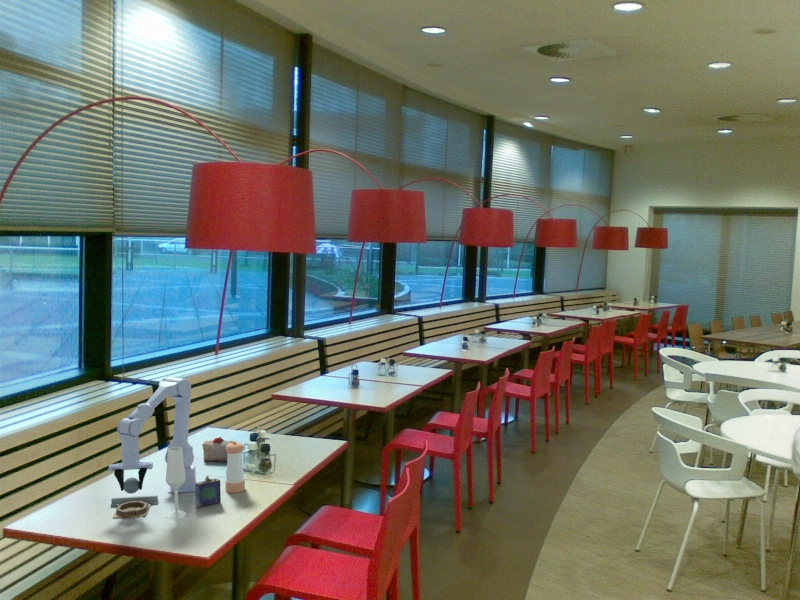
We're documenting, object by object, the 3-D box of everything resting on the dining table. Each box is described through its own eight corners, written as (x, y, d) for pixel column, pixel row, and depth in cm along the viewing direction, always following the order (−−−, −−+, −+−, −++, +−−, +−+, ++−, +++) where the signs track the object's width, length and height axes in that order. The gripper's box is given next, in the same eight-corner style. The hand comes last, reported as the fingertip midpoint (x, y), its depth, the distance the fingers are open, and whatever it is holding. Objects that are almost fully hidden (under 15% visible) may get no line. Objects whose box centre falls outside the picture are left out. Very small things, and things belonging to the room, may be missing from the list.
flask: (196, 508, 256) (195, 479, 255) (194, 506, 259) (193, 477, 258) (221, 503, 261) (221, 475, 260) (219, 501, 263) (218, 473, 262)
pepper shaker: (248, 489, 275) (247, 441, 273) (232, 494, 270) (231, 445, 268) (237, 484, 280) (237, 437, 278) (221, 489, 275) (220, 441, 273)
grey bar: (158, 500, 263) (158, 494, 263) (157, 503, 260) (156, 497, 260) (112, 503, 261) (112, 496, 260) (110, 506, 258) (110, 499, 257)
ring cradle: (151, 504, 260) (150, 499, 259) (145, 516, 249) (145, 511, 249) (119, 506, 258) (119, 501, 257) (112, 518, 247) (112, 513, 247)
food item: (200, 462, 307) (199, 440, 306) (206, 456, 315) (206, 434, 314) (231, 463, 306) (230, 441, 305) (236, 457, 314) (236, 435, 313)
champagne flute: (163, 514, 251) (162, 448, 248) (182, 510, 255) (181, 444, 252) (170, 520, 245) (168, 453, 243) (189, 516, 250) (188, 449, 247)
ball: (141, 489, 256) (140, 475, 255) (138, 495, 250) (138, 480, 250) (125, 490, 255) (124, 475, 254) (122, 496, 249) (121, 481, 249)
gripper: (106, 456, 246) (107, 494, 247) (150, 454, 248) (151, 492, 250) (110, 450, 253) (112, 487, 254) (153, 448, 255) (154, 485, 257)
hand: (131, 489), depth 252 cm, fingers closed on ball, 5 cm apart
